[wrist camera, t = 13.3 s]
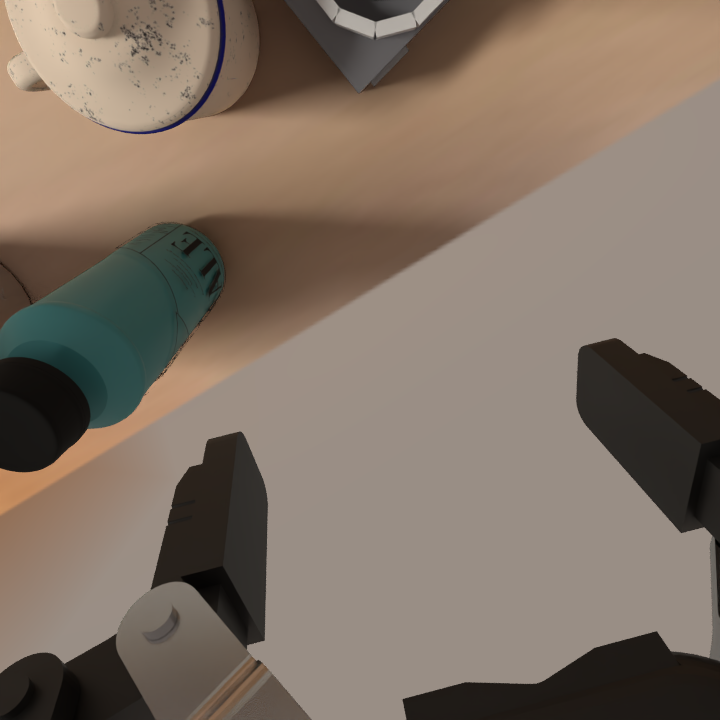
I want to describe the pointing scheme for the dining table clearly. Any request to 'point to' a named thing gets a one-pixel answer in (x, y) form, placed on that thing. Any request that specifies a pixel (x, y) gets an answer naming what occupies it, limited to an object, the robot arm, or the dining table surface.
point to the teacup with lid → (136, 57)
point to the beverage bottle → (101, 342)
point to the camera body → (365, 32)
